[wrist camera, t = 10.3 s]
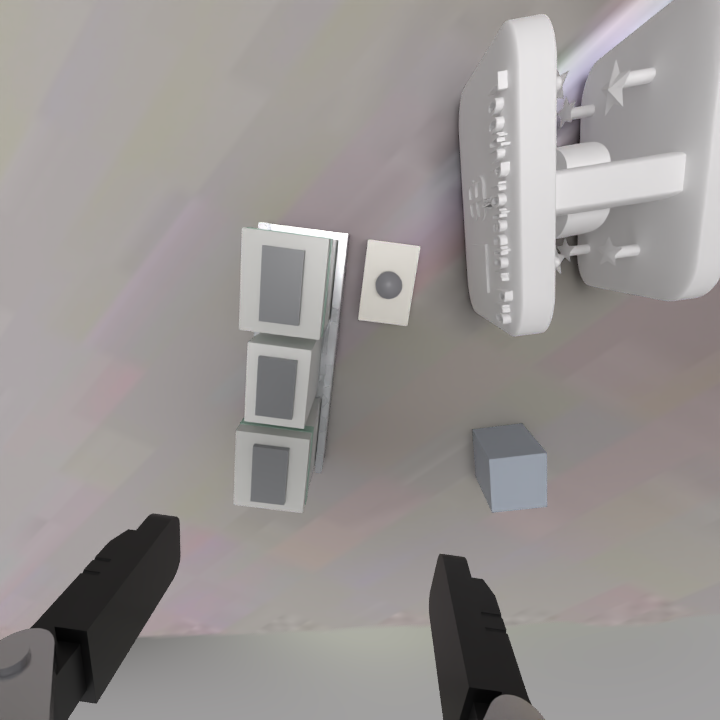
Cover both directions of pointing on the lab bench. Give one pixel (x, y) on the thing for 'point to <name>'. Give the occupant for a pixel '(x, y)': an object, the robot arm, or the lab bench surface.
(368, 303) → the sensor block
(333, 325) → the rail
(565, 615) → the lab bench surface
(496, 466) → the block
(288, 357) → the block
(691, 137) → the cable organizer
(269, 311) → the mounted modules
